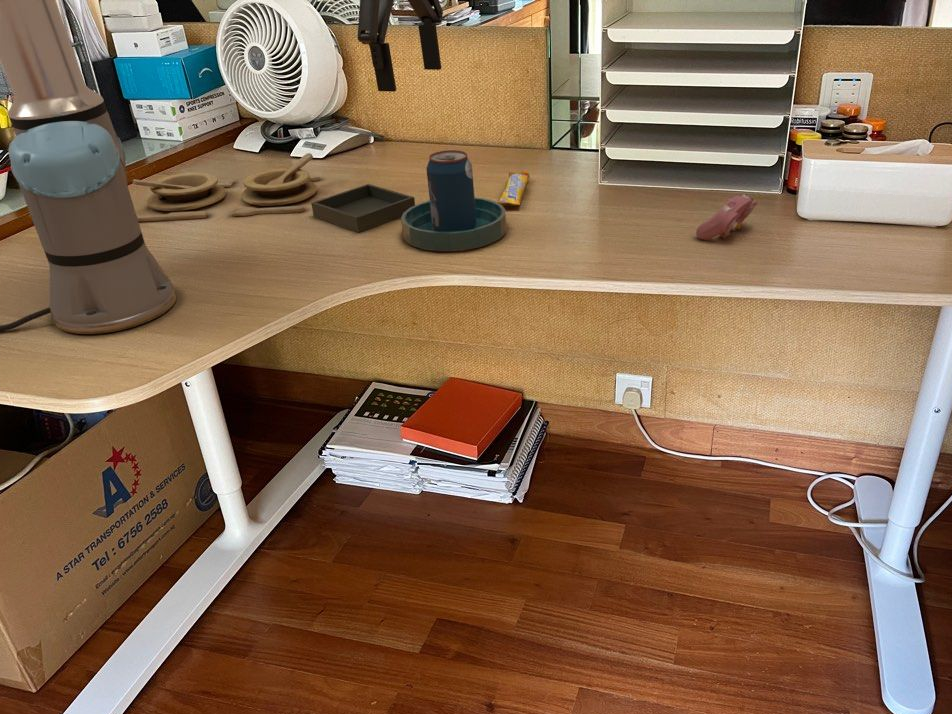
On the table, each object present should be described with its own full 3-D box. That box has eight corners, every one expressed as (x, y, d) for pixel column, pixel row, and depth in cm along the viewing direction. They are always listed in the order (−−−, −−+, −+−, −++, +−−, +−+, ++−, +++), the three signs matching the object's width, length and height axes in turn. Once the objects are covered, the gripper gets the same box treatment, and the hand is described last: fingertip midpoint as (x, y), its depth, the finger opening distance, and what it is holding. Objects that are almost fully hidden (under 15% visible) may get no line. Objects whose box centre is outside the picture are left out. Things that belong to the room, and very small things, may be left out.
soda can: (485, 227, 133) (479, 151, 127) (462, 242, 128) (455, 164, 122) (448, 221, 136) (441, 147, 130) (424, 235, 131) (415, 159, 125)
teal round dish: (454, 261, 123) (452, 241, 121) (382, 237, 132) (379, 217, 130) (527, 229, 133) (527, 209, 131) (456, 208, 142) (454, 190, 140)
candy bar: (508, 180, 154) (508, 170, 153) (531, 180, 154) (530, 169, 153) (494, 211, 140) (494, 200, 139) (519, 211, 140) (519, 200, 139)
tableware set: (132, 222, 142) (121, 188, 139) (167, 186, 158) (158, 154, 155) (309, 212, 143) (302, 178, 140) (325, 177, 160) (319, 145, 156)
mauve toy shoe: (714, 253, 126) (737, 217, 121) (691, 235, 127) (713, 198, 122) (743, 233, 132) (767, 198, 127) (721, 216, 133) (743, 180, 128)
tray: (358, 232, 134) (356, 217, 133) (313, 217, 141) (310, 202, 140) (416, 211, 142) (414, 197, 140) (370, 197, 149) (368, 183, 147)
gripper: (359, -72, 105) (388, 101, 117) (453, -90, 124) (470, 61, 136) (310, -70, 108) (344, 100, 120) (409, -88, 127) (430, 60, 139)
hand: (411, 79), depth 128 cm, fingers open, 13 cm apart
